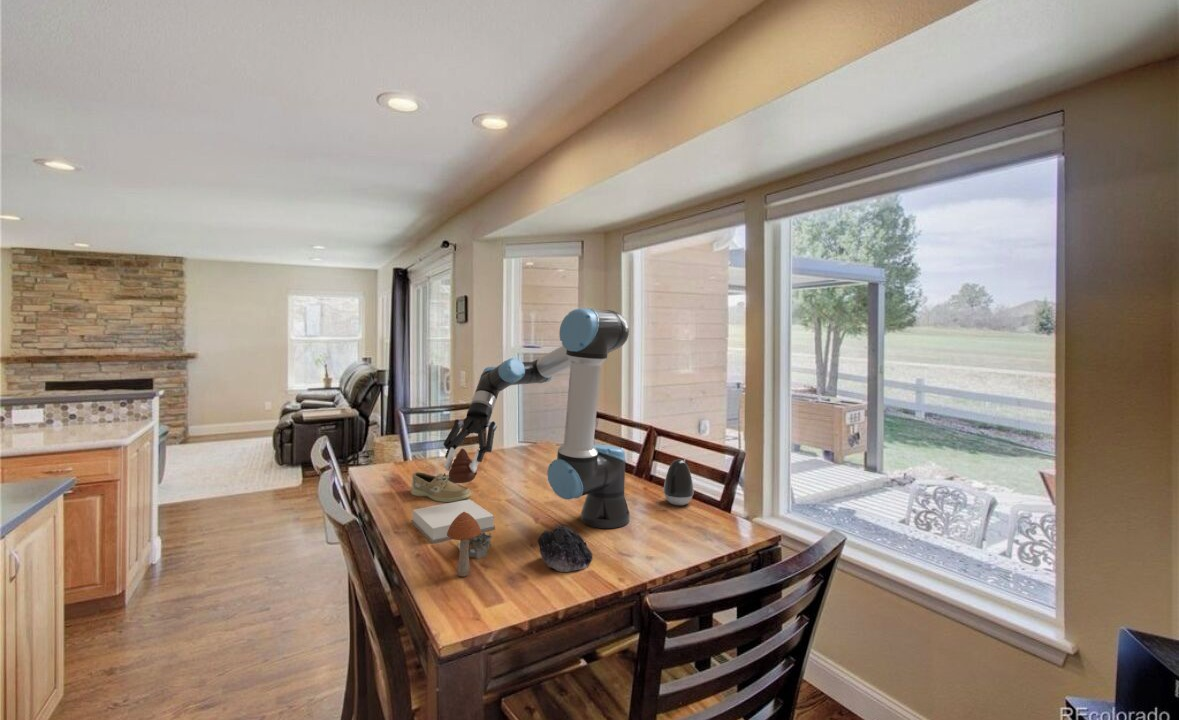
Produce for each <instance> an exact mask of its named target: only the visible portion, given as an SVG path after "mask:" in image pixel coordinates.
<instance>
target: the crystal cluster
mask: <svg viewBox="0 0 1179 720" xmlns="http://www.w3.org/2000/svg"><path fill="white" fill-rule="evenodd" d="M537 542H538V545H539V554H540V555H541V558H542V561H543V563H544V564H545V565H546V566H547V567H548V568H550V569H554V570H555V571H557V572H564V573H568V572H573V571H580V570H585V569H588V567H589V566H590V565H591V563H592V561H593V553H592V551H591V549H589V548H588V545H587V542H586V541H584V539H583V538H582V537H581V536H580V534H578V533H576V532H575V531H574V530H573V529H571V528H570V527H569V526H566V525H556V526H555V528H554V530H553V531H551V530H550V531H549V530H547V529H546V530H544V531H543V532H542V533H541V534H540V536H539V537H538V540H537Z"/></svg>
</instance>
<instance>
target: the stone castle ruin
mask: <svg viewBox="0 0 1179 720" xmlns="http://www.w3.org/2000/svg"><path fill="white" fill-rule="evenodd" d="M491 540H492V534H491V533H488V534H487V533H485V532H481V533H480V535H479V536H477V537H475V538H472V539H469V545H470V544H472V547H471V548H470V547H469V550H468V553H469V558H476V559H482V558H484V557H487V554H488V552H489V547H490V546H491ZM457 546H458V550H459V551H460V542H458V543H457Z"/></svg>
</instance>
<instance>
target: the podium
mask: <svg viewBox="0 0 1179 720" xmlns="http://www.w3.org/2000/svg"><path fill="white" fill-rule="evenodd" d="M462 512H466V513H468V514H470V515H471V516H472V517H473V518H474V519H475V520H476V521H477V523H478V525H479V527H480V529H481V533H483V532H484V533H485V532H488V531H489V532H490V531H493V530H496V526H495V524H494V523H495V517H494V515H493V514H492V513H491V512H489V511H488V510H487V509H484V508H483V507H482V506H480V505H479V504H477V503H476V502H475V501H473V500H472V499H469V498H467V499H464V500H460V501H455V502H445V503H443V504H436V505H431V506H426V507H425V506H424V507H419V508H415V509H412V519H411V524H412V525H413V526H414V527H415V528H417V530H418V531H419V532H420V533H421V534H422V535H423V536H424V537H425V538H426V539H427V540H428V541H429V542H430V543H431V544H436V543H440V542H441V543H442V542H444V541H449V540H451V539H450V538H449V537H448V536H447V532H448V529H449V527H450V525H451V523H452V522H453V521H454V519H455V518H456V517H457V516H458V515H459V514H461V513H462Z"/></svg>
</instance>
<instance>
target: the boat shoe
mask: <svg viewBox="0 0 1179 720" xmlns="http://www.w3.org/2000/svg"><path fill="white" fill-rule="evenodd" d="M411 478H412V480H411V481H412V482H411V487H410V495H412V496H415V497H421V498H428V499H430V500H432V501H435V502H440V503H452V502H457V501H463V500H468V499H469V498H470V497H472V492H471V490H470V488H469V487H467V486H463V485H460V484H459V483H453V482H451V481H450V480H449V474H447V473H446V472H444V473H438V474H437V475H432V474H430V473H426V472H422V471H415V472H413V473H412V477H411Z"/></svg>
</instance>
